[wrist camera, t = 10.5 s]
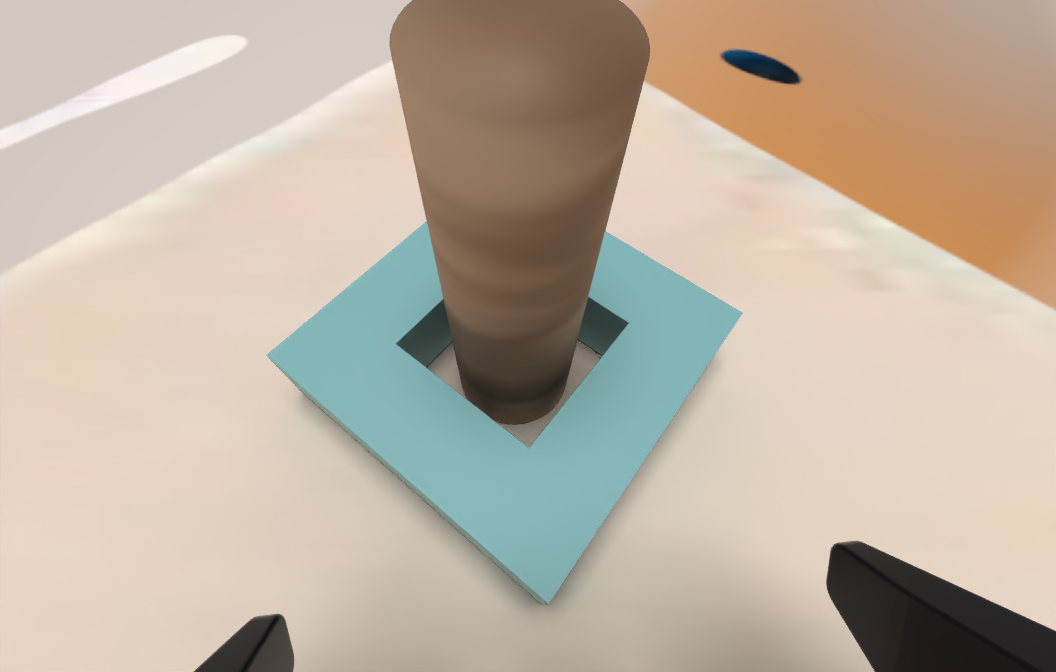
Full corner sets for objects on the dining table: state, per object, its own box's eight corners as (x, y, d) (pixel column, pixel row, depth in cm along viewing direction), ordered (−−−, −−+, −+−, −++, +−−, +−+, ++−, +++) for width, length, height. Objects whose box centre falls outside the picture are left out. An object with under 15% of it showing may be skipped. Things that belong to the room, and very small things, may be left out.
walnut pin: (494, 444, 17) (469, 159, 6) (442, 357, 19) (348, 7, 8) (587, 389, 18) (703, 67, 7) (530, 311, 20) (557, -50, 9)
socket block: (541, 604, 15) (548, 604, 12) (301, 392, 18) (266, 355, 15) (710, 352, 19) (742, 312, 17) (495, 217, 22) (494, 165, 20)
